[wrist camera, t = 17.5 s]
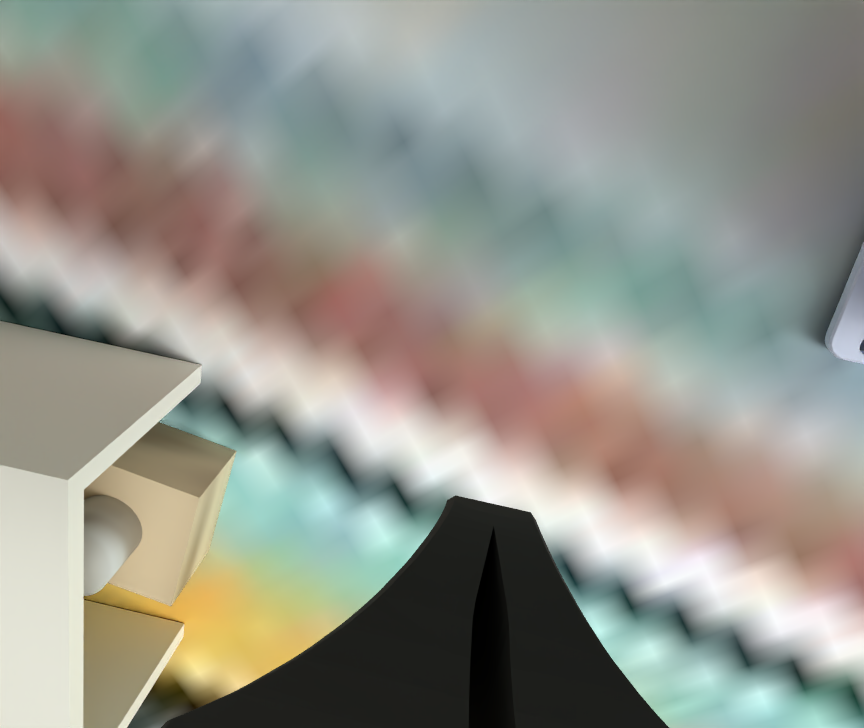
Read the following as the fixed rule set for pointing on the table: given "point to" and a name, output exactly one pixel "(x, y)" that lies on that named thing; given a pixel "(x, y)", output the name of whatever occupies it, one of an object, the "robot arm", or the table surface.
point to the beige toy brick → (154, 513)
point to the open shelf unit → (71, 527)
